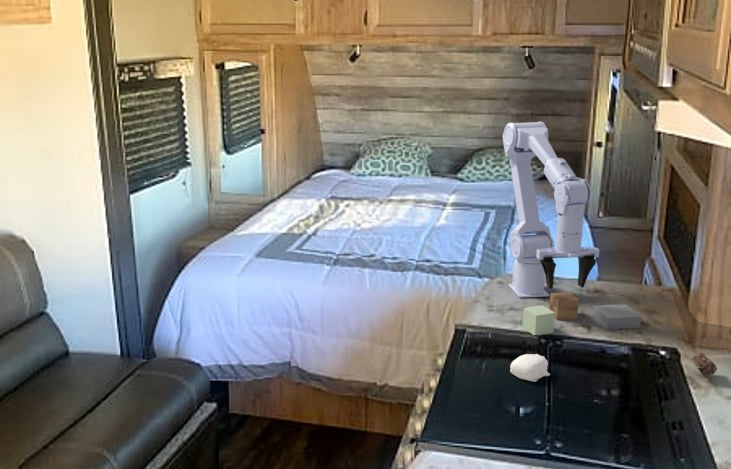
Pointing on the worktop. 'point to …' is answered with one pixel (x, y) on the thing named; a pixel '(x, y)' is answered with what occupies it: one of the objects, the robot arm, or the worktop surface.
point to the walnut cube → (564, 305)
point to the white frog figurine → (530, 367)
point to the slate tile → (616, 316)
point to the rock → (704, 365)
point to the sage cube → (538, 320)
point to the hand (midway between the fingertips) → (565, 286)
